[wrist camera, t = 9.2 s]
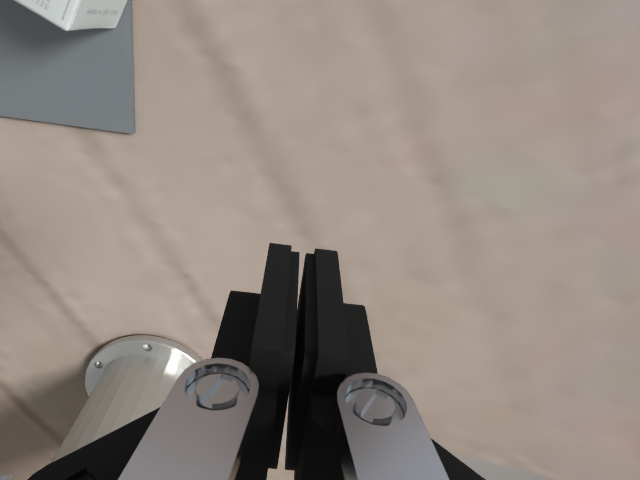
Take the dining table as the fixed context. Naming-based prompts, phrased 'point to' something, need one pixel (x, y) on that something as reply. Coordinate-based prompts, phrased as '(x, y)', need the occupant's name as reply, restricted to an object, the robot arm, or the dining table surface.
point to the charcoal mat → (66, 71)
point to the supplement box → (78, 12)
